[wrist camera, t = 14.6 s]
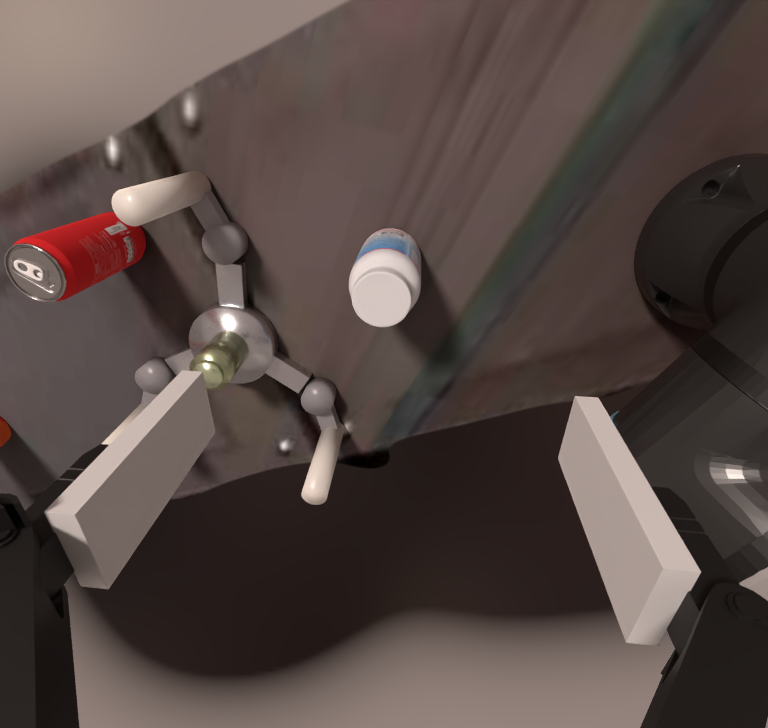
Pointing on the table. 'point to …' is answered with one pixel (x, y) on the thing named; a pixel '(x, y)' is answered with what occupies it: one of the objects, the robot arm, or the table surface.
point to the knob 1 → (147, 389)
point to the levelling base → (244, 326)
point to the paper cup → (4, 432)
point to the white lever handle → (177, 193)
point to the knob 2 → (322, 439)
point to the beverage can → (73, 256)
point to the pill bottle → (386, 278)
